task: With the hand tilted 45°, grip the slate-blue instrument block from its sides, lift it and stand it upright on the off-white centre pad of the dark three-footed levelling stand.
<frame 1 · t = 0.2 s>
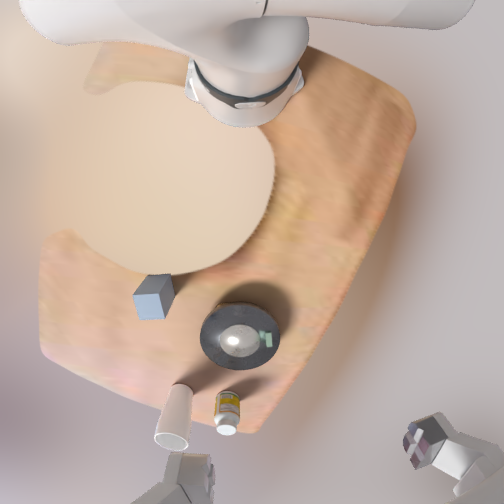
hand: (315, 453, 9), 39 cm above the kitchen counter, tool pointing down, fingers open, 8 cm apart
instrument block: (161, 286, 48), on the kitchen counter
supplement bottle: (227, 397, 57), on the kitchen counter
drinking glass: (181, 390, 56), on the kitchen counter
levelling stand: (239, 328, 51), on the kitchen counter
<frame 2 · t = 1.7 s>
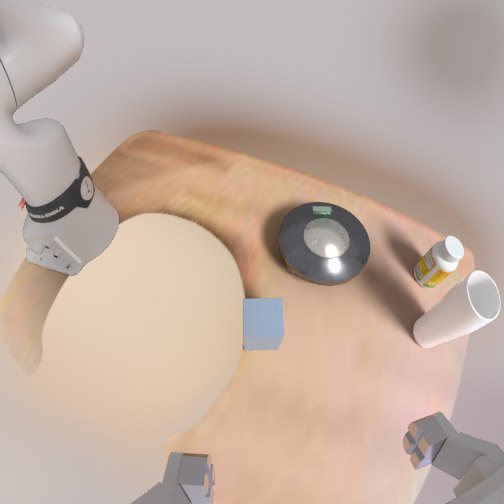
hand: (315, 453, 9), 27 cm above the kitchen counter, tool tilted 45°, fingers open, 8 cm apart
instrument block: (260, 334, 37), on the kitchen counter
supplement bottle: (424, 276, 42), on the kitchen counter
drinking glass: (424, 333, 37), on the kitchen counter
levelling stand: (320, 252, 44), on the kitchen counter
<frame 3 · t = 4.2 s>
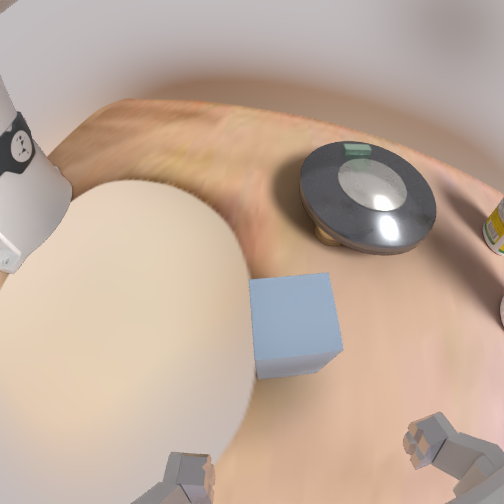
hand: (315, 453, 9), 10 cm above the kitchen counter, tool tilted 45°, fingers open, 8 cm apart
instrument block: (284, 349, 21), on the kitchen counter
supplement bottle: (495, 240, 25), on the kitchen counter
levelling stand: (362, 211, 28), on the kitchen counter
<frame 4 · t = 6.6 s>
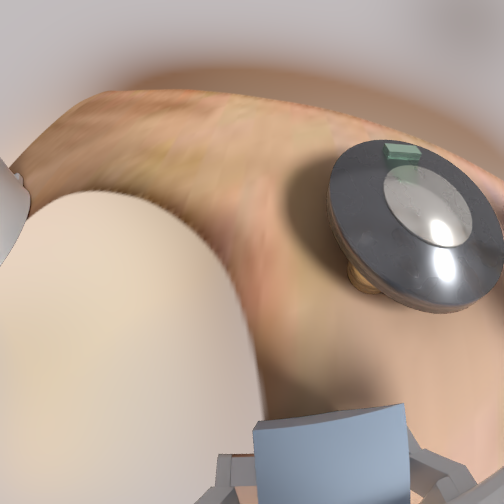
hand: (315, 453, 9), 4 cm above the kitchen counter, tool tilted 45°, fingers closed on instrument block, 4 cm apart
instrument block: (302, 453, 12), on the kitchen counter, touching gripper
levelling stand: (408, 239, 19), on the kitchen counter
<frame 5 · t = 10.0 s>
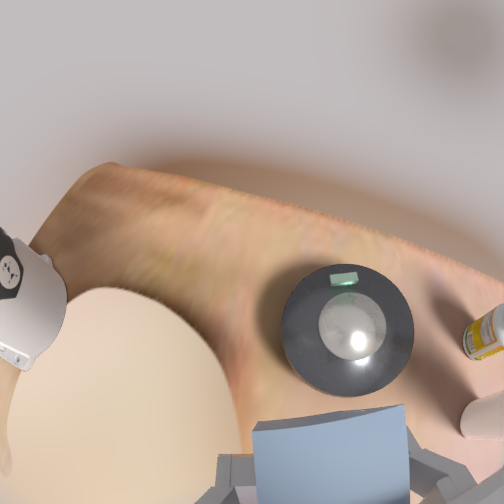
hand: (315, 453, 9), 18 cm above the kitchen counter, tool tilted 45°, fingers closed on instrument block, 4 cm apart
instrument block: (302, 453, 12), point 14 cm above the kitchen counter, touching gripper
supplement bottle: (474, 343, 26), on the kitchen counter
drinking glass: (471, 419, 21), on the kitchen counter
levelling stand: (342, 337, 29), on the kitchen counter
when the fingers open (10 cm above the kitchen counter, at t = 13.3 s): instrument block drops 1 cm, resting on levelling stand.
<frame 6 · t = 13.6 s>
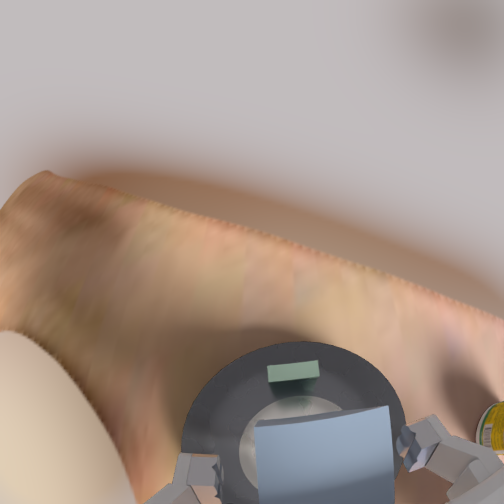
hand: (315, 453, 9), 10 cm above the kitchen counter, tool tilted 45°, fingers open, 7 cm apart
instrument block: (299, 450, 13), point 4 cm above the kitchen counter, touching levelling stand
supplement bottle: (491, 429, 14), on the kitchen counter
levelling stand: (293, 443, 16), on the kitchen counter
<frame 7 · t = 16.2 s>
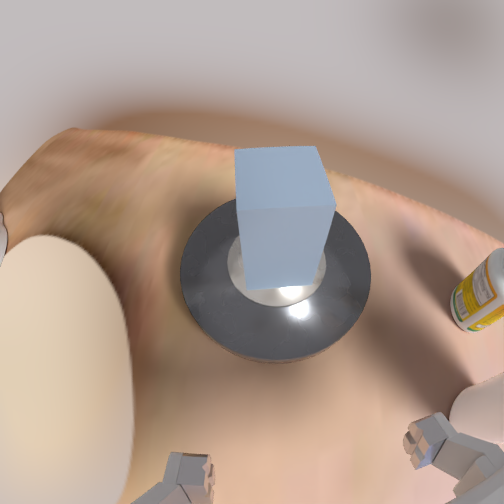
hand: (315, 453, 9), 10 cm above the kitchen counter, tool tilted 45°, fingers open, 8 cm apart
instrument block: (276, 259, 20), point 4 cm above the kitchen counter, touching levelling stand
supplement bottle: (467, 309, 21), on the kitchen counter
drinking glass: (466, 414, 16), on the kitchen counter
levelling stand: (275, 286, 24), on the kitchen counter
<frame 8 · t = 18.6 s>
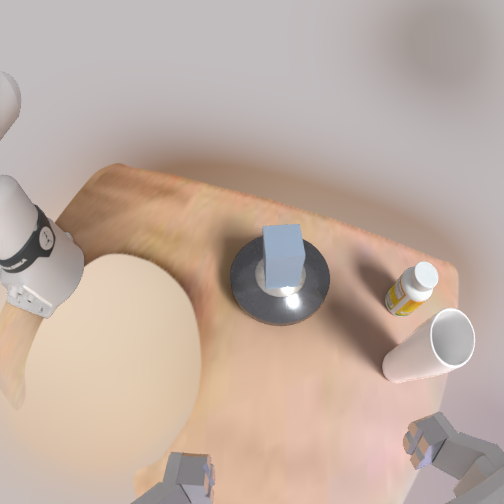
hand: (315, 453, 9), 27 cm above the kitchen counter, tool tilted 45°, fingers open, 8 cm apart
instrument block: (280, 273, 39), point 4 cm above the kitchen counter, touching levelling stand
supplement bottle: (398, 303, 40), on the kitchen counter
drinking glass: (396, 366, 35), on the kitchen counter
levelling stand: (279, 287, 43), on the kitchen counter
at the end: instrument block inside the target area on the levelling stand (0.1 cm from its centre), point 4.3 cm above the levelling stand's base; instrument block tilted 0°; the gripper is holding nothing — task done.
